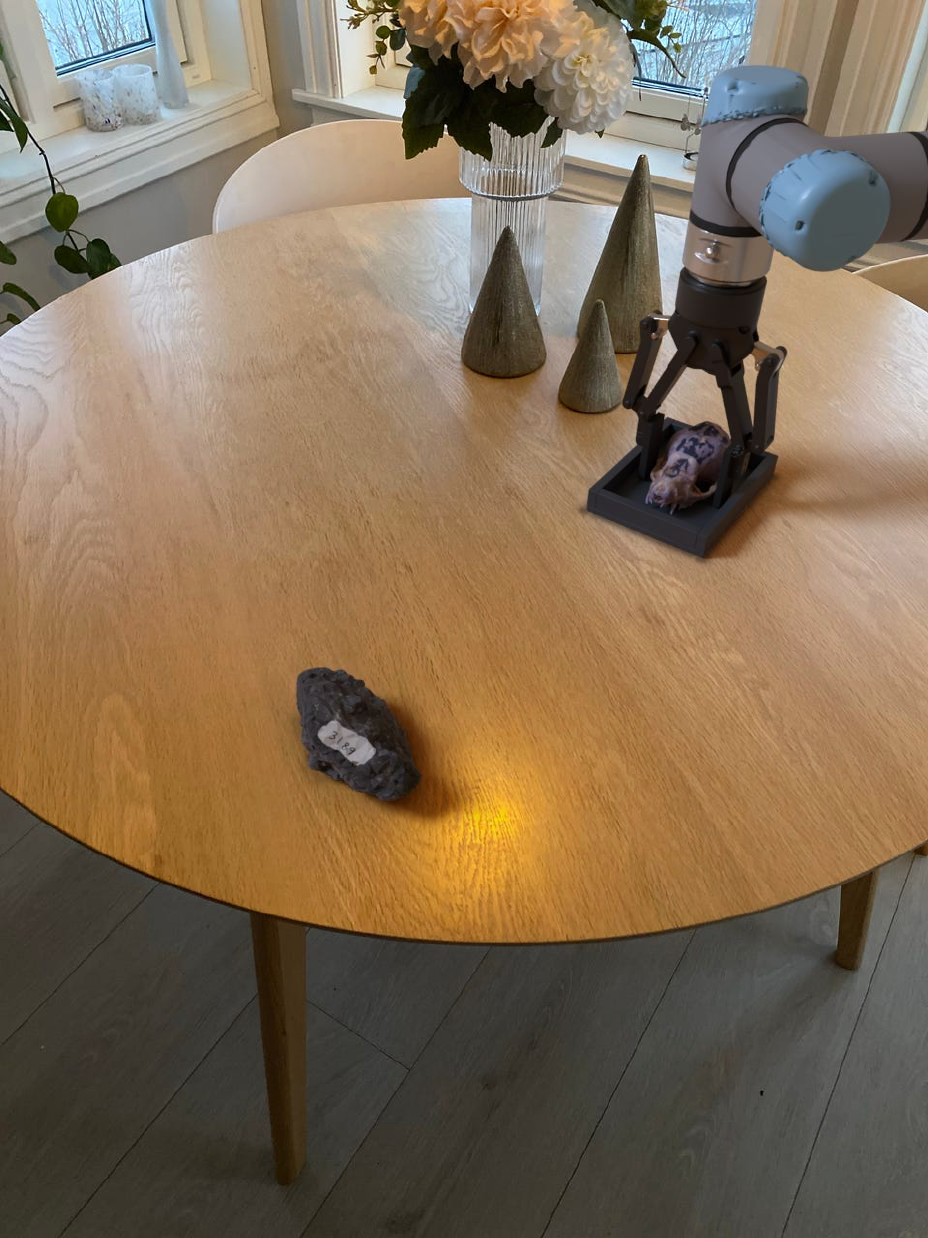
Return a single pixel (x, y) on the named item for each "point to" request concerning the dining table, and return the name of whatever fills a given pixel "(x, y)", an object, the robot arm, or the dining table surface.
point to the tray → (684, 528)
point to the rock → (354, 735)
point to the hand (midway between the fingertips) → (683, 486)
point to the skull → (688, 465)
